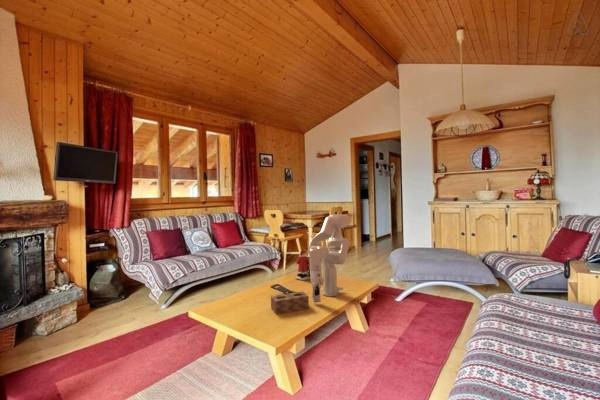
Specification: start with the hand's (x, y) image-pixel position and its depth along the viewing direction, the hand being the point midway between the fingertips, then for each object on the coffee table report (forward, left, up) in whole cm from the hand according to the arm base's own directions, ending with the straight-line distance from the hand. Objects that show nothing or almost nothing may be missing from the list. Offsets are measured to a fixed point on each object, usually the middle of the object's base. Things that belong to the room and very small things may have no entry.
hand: (316, 294), depth 200 cm
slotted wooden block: (+19, 0, -6) cm, 20 cm away
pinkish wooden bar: (0, 0, -5) cm, 5 cm away
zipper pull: (+14, -22, -7) cm, 27 cm away
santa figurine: (-15, -60, -7) cm, 63 cm away
